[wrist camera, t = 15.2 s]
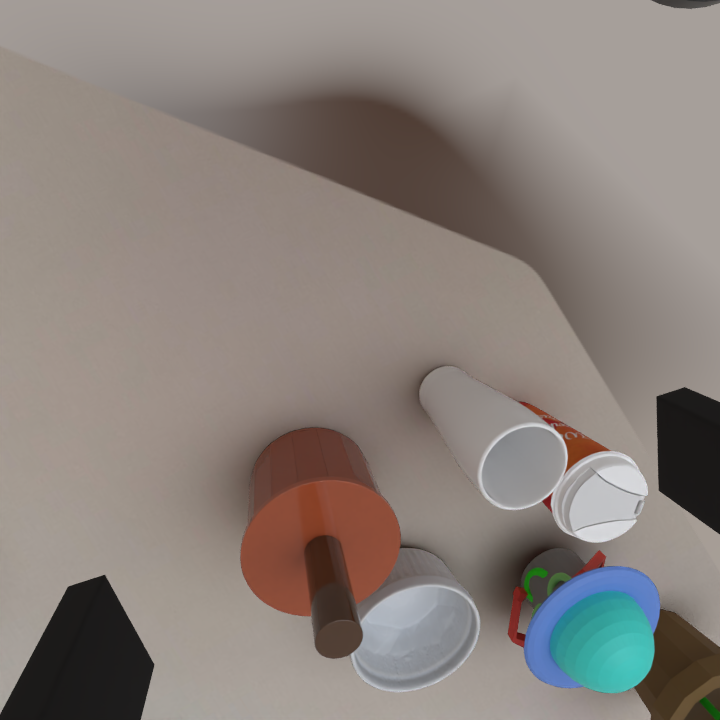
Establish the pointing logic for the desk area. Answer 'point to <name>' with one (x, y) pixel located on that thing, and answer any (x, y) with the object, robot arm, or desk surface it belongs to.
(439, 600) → the ramekin
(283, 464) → the jar
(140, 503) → the desk surface
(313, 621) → the lid
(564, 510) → the paper cup
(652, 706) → the flowerpot
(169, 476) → the desk surface
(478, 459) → the white plastic tumbler
